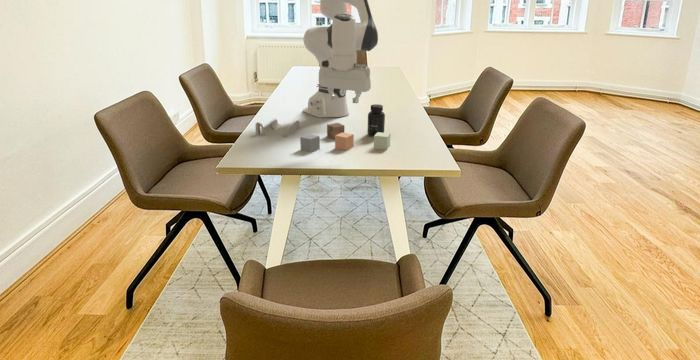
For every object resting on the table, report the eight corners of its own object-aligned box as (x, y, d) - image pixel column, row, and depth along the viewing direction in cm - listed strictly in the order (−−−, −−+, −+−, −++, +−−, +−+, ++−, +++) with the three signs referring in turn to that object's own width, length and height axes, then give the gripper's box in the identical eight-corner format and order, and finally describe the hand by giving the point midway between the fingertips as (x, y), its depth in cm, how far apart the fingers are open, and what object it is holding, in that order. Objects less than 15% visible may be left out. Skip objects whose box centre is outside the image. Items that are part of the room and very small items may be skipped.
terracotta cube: (335, 148, 198) (335, 135, 196) (342, 145, 202) (342, 132, 200) (346, 150, 195) (346, 137, 193) (353, 147, 199) (353, 134, 197)
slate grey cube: (300, 149, 196) (300, 136, 194) (309, 146, 200) (309, 133, 198) (310, 152, 193) (310, 139, 191) (319, 149, 197) (319, 136, 195)
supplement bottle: (370, 137, 210) (370, 108, 206) (365, 133, 216) (365, 104, 212) (386, 136, 212) (387, 106, 208) (381, 131, 218) (381, 103, 214)
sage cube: (373, 148, 198) (374, 135, 196) (377, 144, 202) (377, 132, 200) (387, 149, 196) (387, 136, 194) (390, 145, 201) (390, 133, 199)
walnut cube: (327, 136, 212) (327, 124, 210) (337, 134, 215) (337, 122, 213) (333, 139, 208) (333, 127, 206) (344, 137, 211) (344, 125, 209)
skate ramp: (287, 138, 211) (286, 125, 209) (256, 135, 214) (255, 123, 212) (299, 128, 225) (298, 116, 223) (269, 126, 228) (268, 114, 226)
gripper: (374, 63, 184) (373, 103, 189) (325, 59, 194) (326, 96, 199) (365, 66, 179) (364, 106, 184) (315, 61, 189) (316, 99, 194)
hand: (344, 101), depth 192 cm, fingers open, 8 cm apart
